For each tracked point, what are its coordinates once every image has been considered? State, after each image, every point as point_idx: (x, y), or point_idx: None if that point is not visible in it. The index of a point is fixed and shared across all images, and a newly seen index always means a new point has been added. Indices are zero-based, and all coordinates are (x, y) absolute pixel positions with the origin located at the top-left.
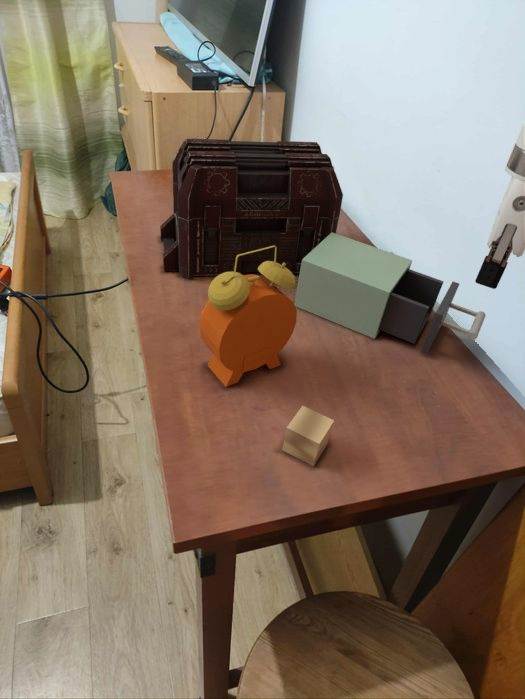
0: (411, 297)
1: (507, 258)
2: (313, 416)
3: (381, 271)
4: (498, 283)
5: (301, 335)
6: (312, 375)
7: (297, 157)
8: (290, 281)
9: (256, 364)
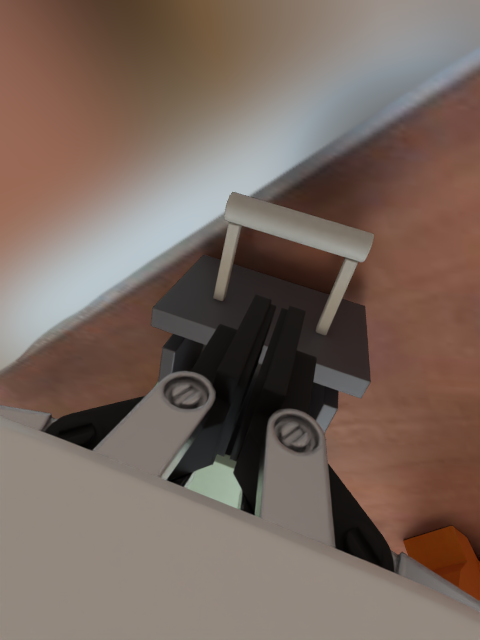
0: (195, 357)
1: (329, 502)
2: None
3: (225, 497)
4: (302, 324)
5: (357, 494)
6: (473, 490)
7: None
8: None
9: None
